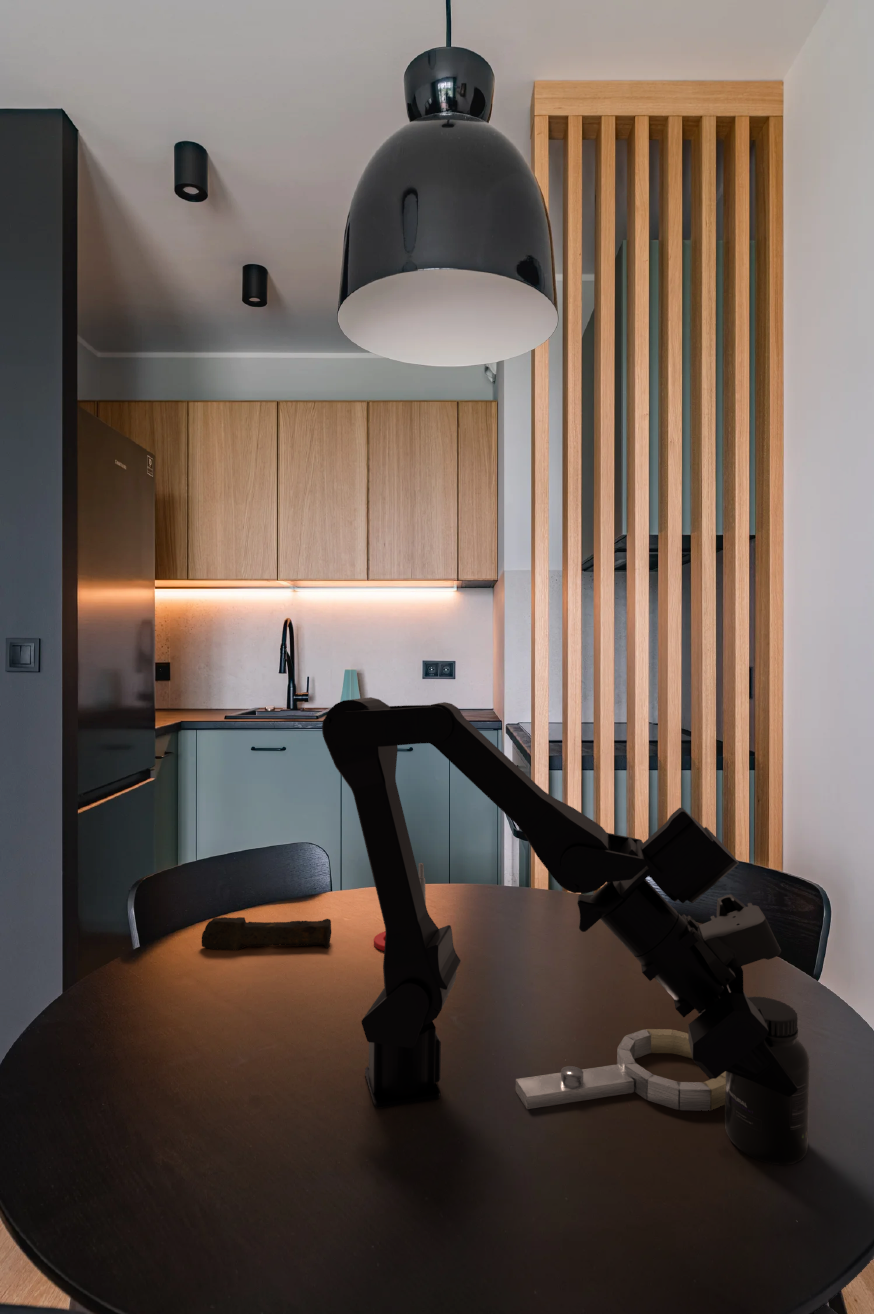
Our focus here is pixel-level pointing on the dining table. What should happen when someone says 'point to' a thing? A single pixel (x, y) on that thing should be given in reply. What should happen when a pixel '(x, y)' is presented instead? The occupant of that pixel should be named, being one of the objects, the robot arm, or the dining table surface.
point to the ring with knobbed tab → (680, 1045)
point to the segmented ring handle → (614, 1082)
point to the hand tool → (264, 933)
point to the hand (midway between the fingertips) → (783, 1070)
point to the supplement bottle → (772, 1095)
